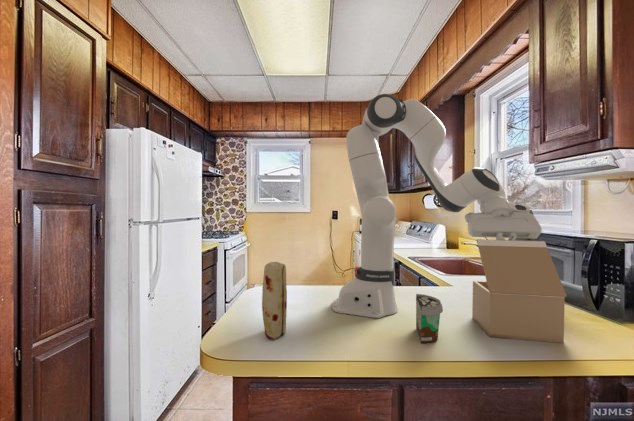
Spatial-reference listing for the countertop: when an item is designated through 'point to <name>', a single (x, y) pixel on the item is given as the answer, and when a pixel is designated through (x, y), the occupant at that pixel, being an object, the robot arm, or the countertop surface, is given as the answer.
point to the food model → (274, 299)
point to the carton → (518, 315)
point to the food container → (427, 318)
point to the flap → (519, 268)
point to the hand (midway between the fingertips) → (510, 246)
